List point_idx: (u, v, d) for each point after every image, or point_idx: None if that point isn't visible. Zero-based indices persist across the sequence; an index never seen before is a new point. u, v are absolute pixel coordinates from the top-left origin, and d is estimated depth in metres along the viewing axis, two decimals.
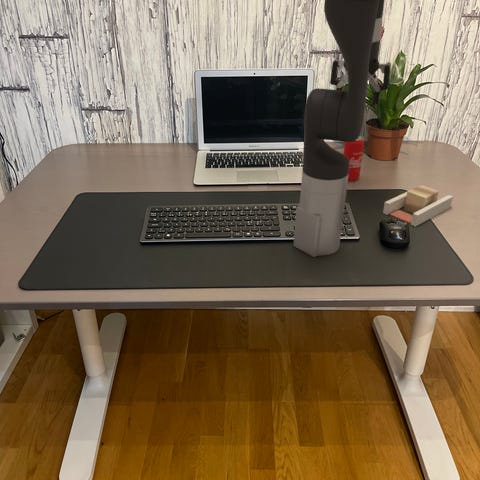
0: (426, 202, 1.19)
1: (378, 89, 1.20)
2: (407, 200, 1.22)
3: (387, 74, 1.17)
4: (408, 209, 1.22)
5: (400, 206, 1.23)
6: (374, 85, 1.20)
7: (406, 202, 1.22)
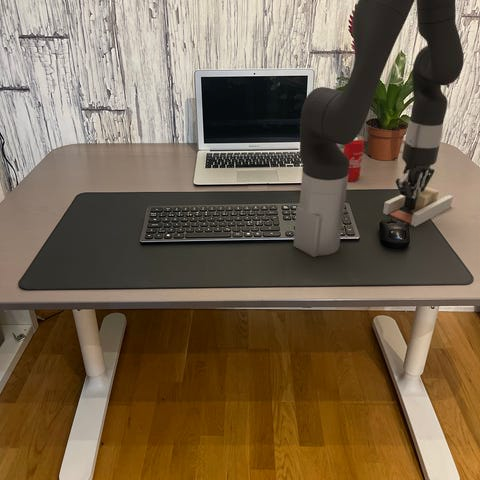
0: (426, 202, 1.19)
1: None
2: None
3: None
4: None
5: (400, 206, 1.23)
6: None
7: None
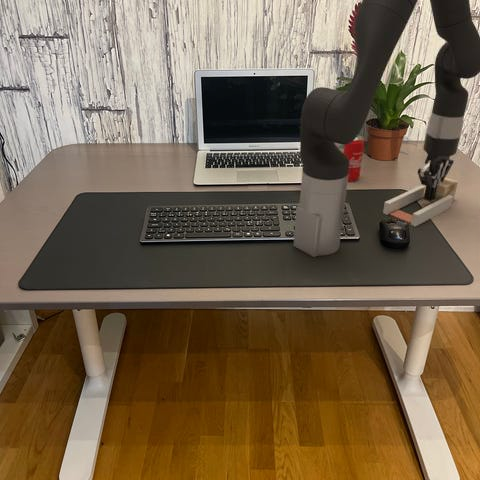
0: (445, 191, 1.24)
1: None
2: None
3: None
4: None
5: (400, 206, 1.23)
6: None
7: None
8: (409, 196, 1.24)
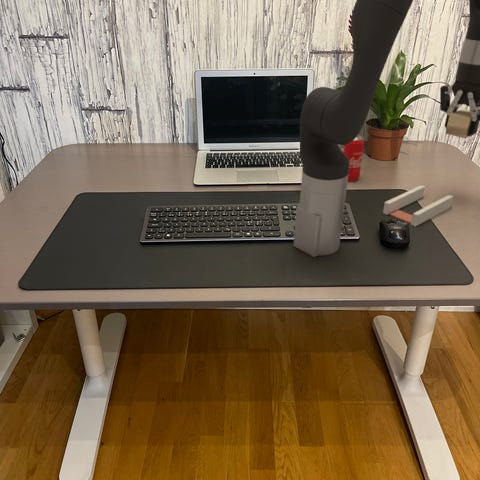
0: (469, 123, 1.17)
1: (475, 118, 1.16)
2: (449, 122, 1.20)
3: None
4: (450, 132, 1.21)
5: (400, 206, 1.23)
6: (473, 113, 1.16)
7: (448, 125, 1.21)
8: (409, 196, 1.24)
